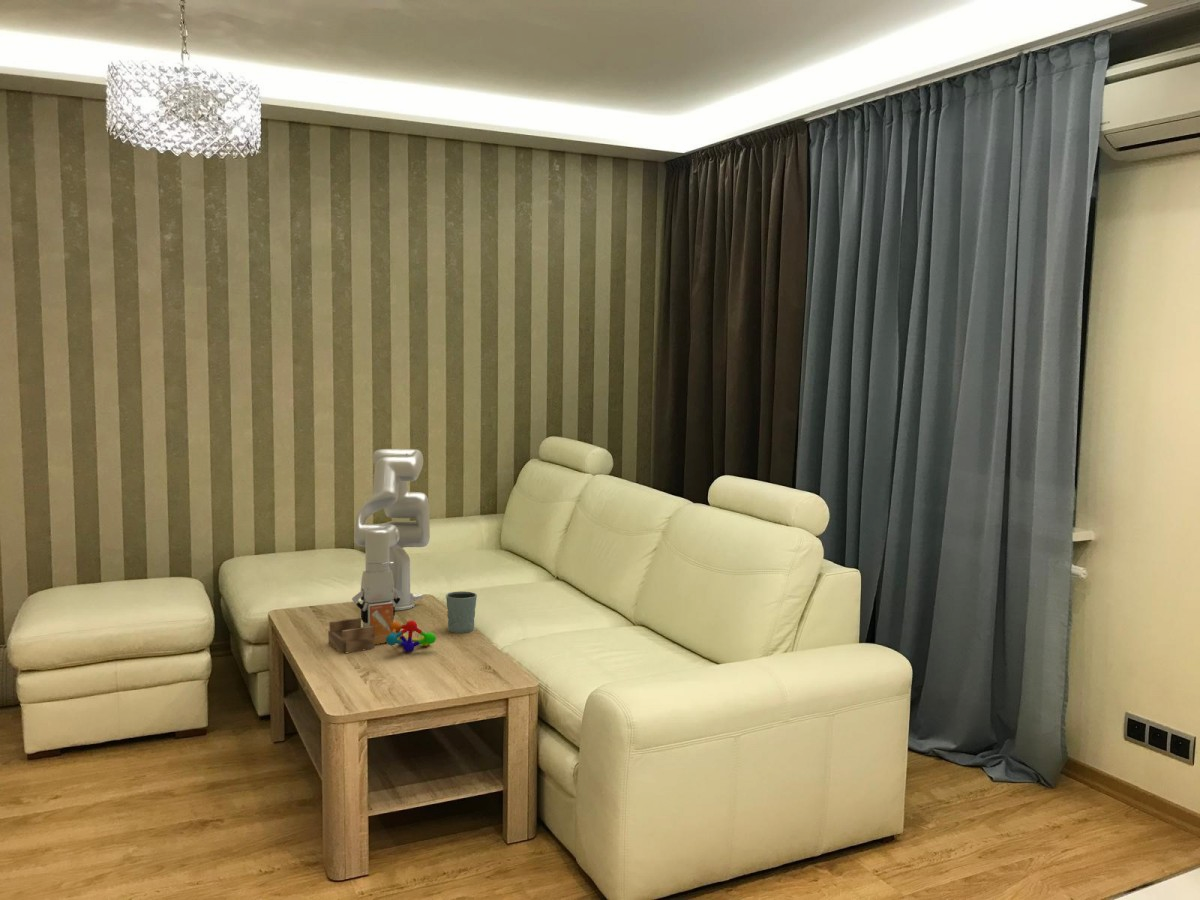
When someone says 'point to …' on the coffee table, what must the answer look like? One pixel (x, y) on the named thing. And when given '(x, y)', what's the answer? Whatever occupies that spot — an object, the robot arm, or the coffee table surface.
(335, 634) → the slot
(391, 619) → the small box
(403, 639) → the molecular model
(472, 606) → the blue-grey cup
